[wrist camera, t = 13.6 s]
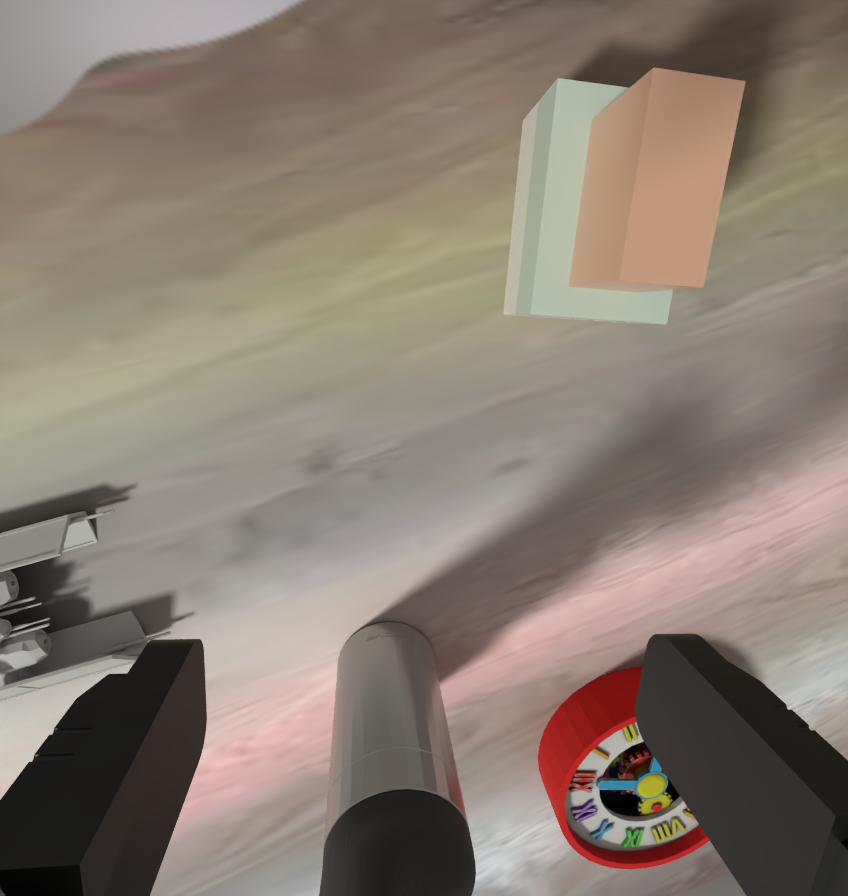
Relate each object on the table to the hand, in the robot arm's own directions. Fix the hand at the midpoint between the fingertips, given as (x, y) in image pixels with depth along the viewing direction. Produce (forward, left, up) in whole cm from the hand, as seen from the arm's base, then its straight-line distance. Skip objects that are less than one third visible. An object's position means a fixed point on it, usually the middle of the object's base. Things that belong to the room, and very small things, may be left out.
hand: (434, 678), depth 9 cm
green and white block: (+14, -15, -34) cm, 39 cm away
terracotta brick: (+14, -15, -27) cm, 34 cm away
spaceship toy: (-19, +29, -34) cm, 49 cm away
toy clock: (-37, -29, -34) cm, 58 cm away
